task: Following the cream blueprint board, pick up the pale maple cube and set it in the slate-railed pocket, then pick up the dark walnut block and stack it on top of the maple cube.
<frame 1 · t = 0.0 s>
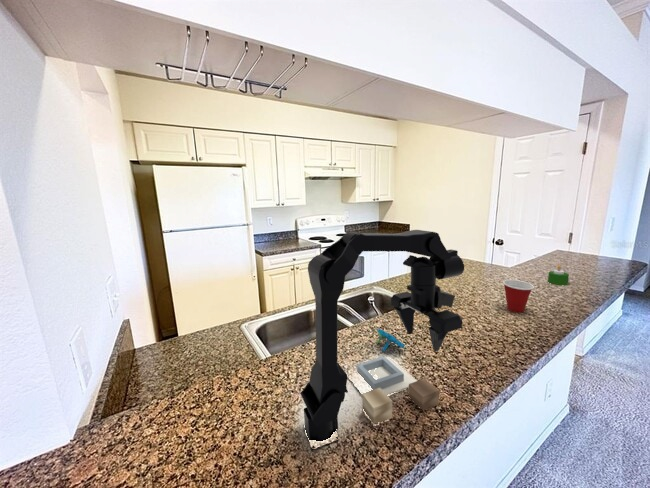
hand: (422, 341, 68), 15 cm above the countertop, fingers open, 9 cm apart
gear: (389, 348, 93), on the countertop
candle: (557, 283, 147), on the countertop
blueprint board: (379, 378, 78), on the countertop
maple cube: (377, 416, 65), on the countertop
walnut block: (423, 401, 69), on the countertop
plastic cup: (516, 310, 117), on the countertop
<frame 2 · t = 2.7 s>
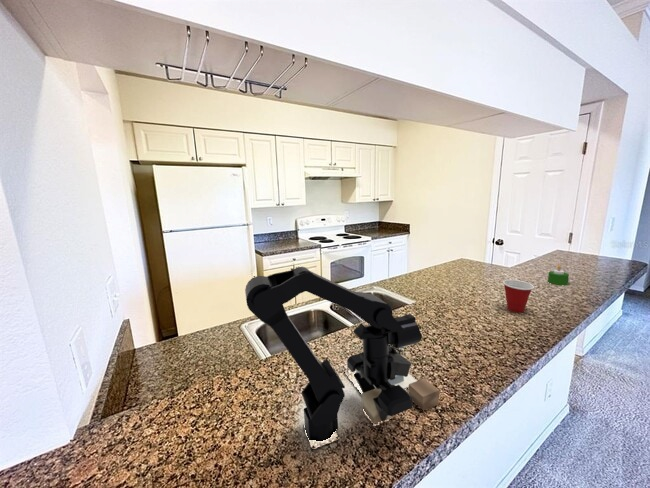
hand: (377, 411, 64), 1 cm above the countertop, fingers closed on maple cube, 5 cm apart
maple cube: (377, 415, 65), on the countertop, touching gripper
everything else where it was.
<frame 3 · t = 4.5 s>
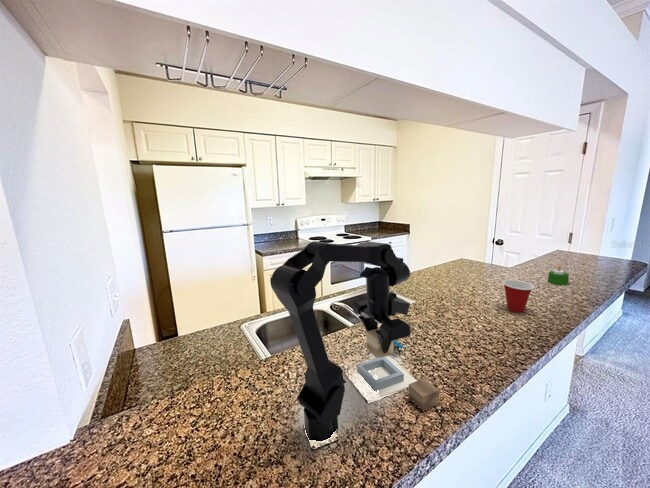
hand: (379, 347, 72), 12 cm above the countertop, fingers closed on maple cube, 5 cm apart
maple cube: (380, 351, 72), point 11 cm above the countertop, touching gripper
everything else where it was.
when the fingers open (4 cm above the countertop, at t = 6.6 s): maple cube drops 2 cm, resting on blueprint board.
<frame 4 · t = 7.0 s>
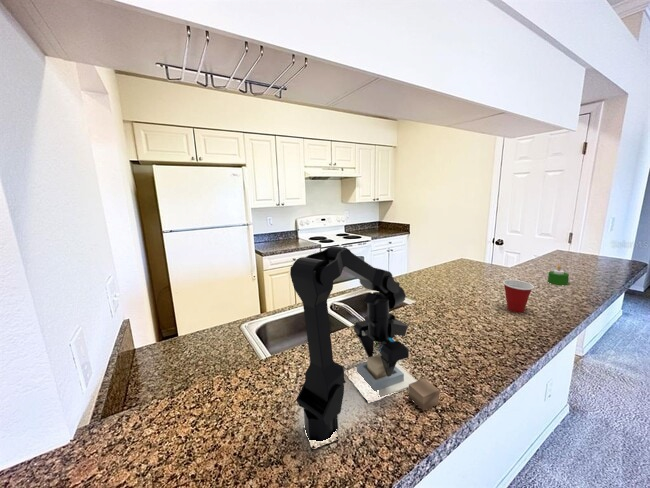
hand: (379, 366, 77), 4 cm above the countertop, fingers open, 9 cm apart
maple cube: (379, 376, 77), point 1 cm above the countertop, touching blueprint board
everything else where it was.
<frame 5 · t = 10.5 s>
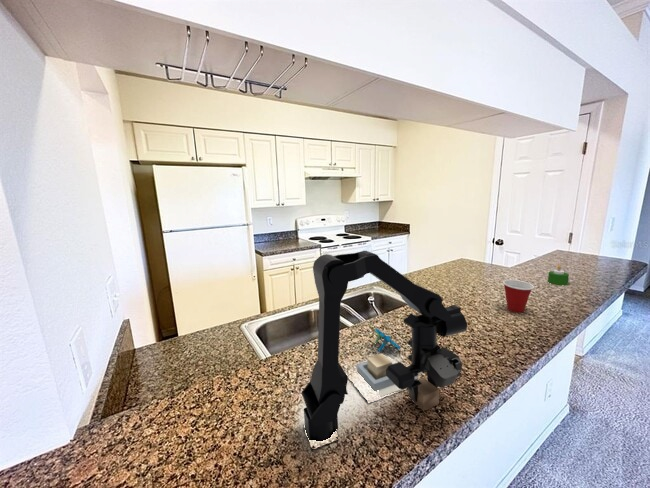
hand: (423, 397, 68), 1 cm above the countertop, fingers closed on walnut block, 5 cm apart
walnut block: (423, 400, 68), on the countertop, touching gripper
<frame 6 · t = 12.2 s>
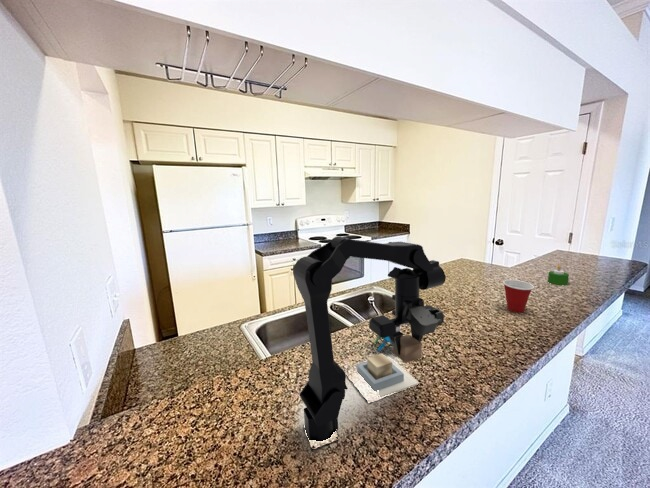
hand: (406, 351, 70), 12 cm above the countertop, fingers closed on walnut block, 5 cm apart
walnut block: (406, 355, 70), point 11 cm above the countertop, touching gripper
when the fingers open (8 cm above the countertop, at t = 13.8 s): walnut block moves 1 cm, resting on maple cube.
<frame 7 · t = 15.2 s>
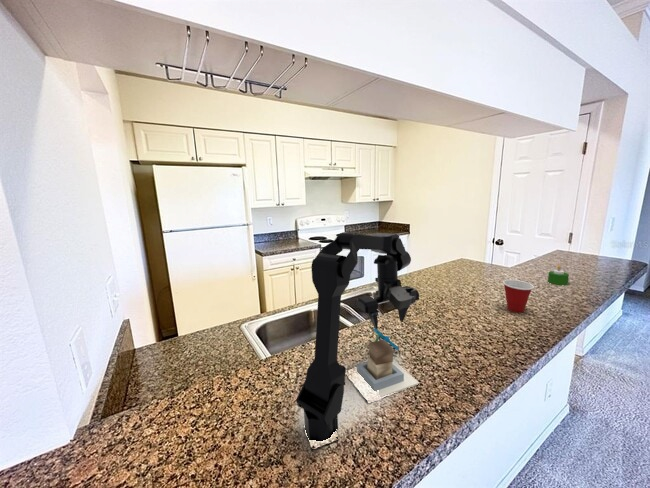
hand: (388, 325, 83), 13 cm above the countertop, fingers open, 9 cm apart
maple cube: (379, 376, 77), point 1 cm above the countertop, touching blueprint board, walnut block
walnut block: (380, 358, 77), point 6 cm above the countertop, touching maple cube
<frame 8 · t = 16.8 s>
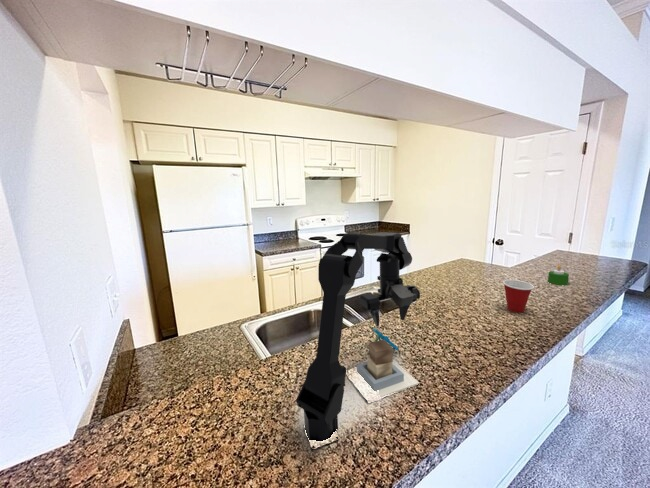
hand: (390, 323, 84), 12 cm above the countertop, fingers open, 9 cm apart
at the end: maple cube inside the target area (0.0 cm from its centre), point 0.8 cm above the countertop; walnut block 0.9 cm off-centre on the maple cube, point 5.0 cm above the maple cube's base; walnut block tilted 0° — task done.
